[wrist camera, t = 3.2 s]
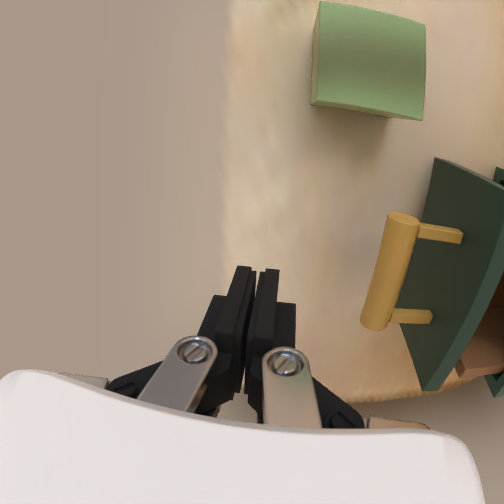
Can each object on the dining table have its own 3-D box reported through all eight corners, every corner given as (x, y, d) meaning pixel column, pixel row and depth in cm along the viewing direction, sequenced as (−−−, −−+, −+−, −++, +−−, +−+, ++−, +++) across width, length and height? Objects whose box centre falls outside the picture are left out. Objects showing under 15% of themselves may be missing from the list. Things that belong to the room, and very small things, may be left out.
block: (313, 29, 13) (319, 0, 9) (393, 43, 13) (425, 24, 8) (309, 104, 15) (315, 100, 11) (390, 117, 15) (423, 121, 10)
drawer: (340, 306, 20) (353, 394, 13) (371, 143, 15) (427, 169, 8) (509, 313, 18) (546, 370, 12) (551, 197, 13) (611, 238, 6)
